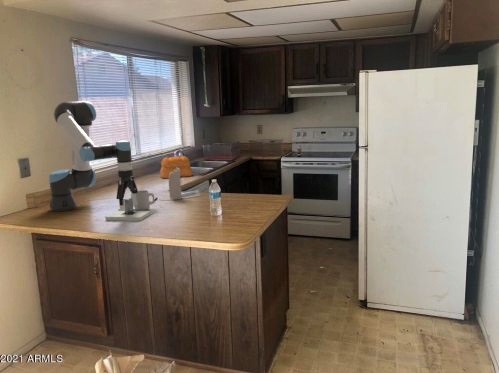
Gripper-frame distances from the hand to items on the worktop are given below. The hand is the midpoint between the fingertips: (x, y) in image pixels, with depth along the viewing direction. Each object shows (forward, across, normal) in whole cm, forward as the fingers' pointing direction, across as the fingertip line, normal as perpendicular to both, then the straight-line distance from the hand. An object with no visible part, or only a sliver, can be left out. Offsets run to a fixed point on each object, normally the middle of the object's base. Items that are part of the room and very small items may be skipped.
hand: (128, 207), depth 233 cm
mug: (+5, +16, -2) cm, 17 cm away
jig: (+5, 0, 0) cm, 5 cm away
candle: (+5, +44, -7) cm, 45 cm away
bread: (+6, +129, +21) cm, 130 cm away
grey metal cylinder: (+5, 0, 0) cm, 5 cm away
